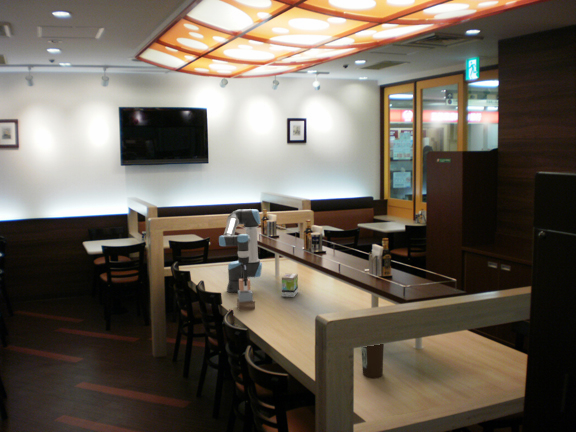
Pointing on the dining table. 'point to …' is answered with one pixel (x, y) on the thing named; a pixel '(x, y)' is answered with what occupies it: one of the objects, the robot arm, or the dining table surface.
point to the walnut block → (246, 305)
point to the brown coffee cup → (372, 361)
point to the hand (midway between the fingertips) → (244, 288)
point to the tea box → (289, 285)
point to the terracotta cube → (242, 284)
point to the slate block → (245, 296)
